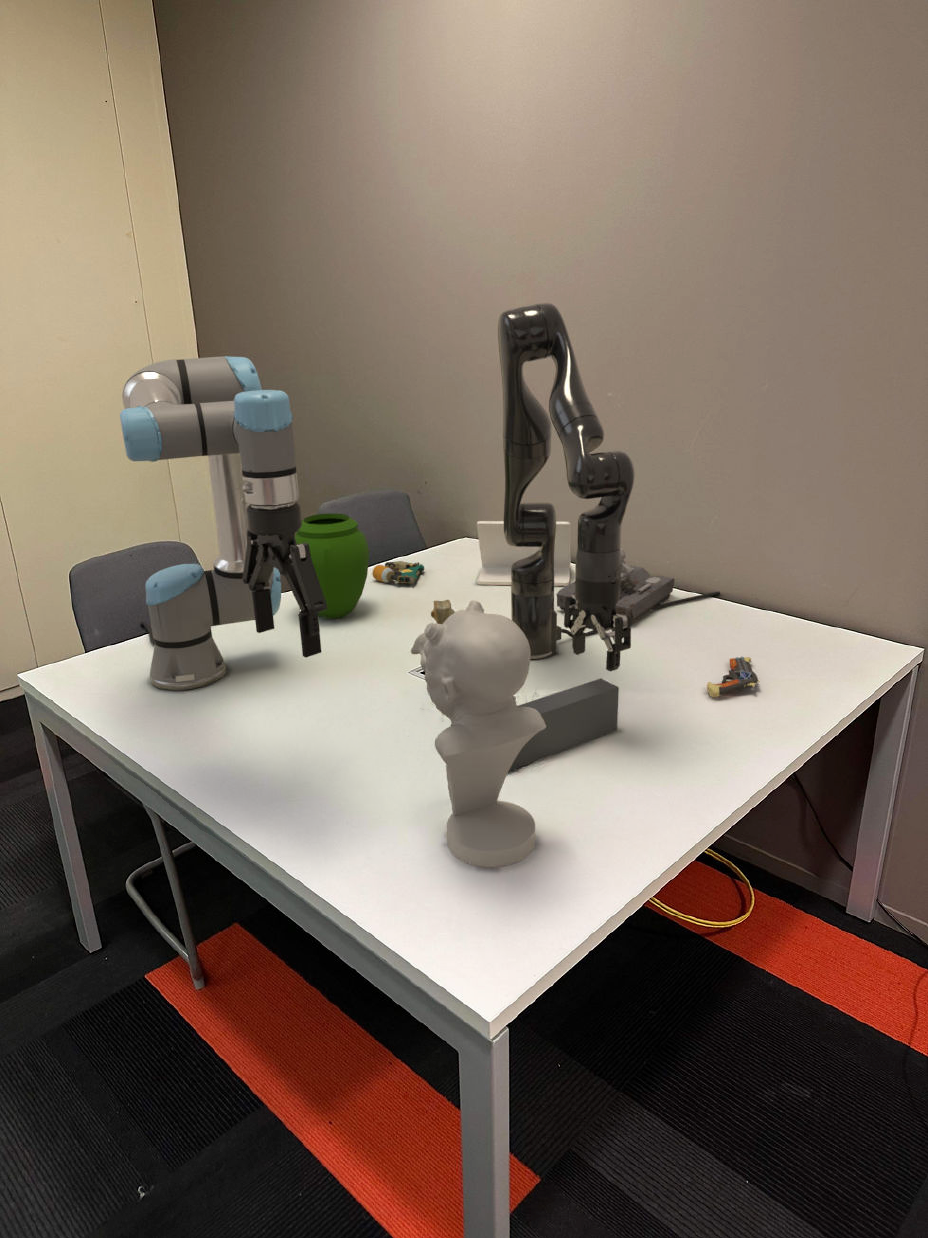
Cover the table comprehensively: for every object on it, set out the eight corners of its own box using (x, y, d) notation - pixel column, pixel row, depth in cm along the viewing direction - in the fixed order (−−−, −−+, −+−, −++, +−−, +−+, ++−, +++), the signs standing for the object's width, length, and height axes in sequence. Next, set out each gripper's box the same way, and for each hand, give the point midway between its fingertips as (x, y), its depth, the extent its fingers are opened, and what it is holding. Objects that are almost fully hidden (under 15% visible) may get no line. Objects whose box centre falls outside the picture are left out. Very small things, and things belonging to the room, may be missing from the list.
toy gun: (708, 687, 162) (763, 684, 160) (700, 655, 180) (750, 652, 178) (709, 701, 163) (764, 698, 161) (701, 667, 181) (750, 664, 179)
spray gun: (392, 568, 251) (438, 575, 245) (363, 581, 236) (410, 589, 230) (392, 554, 249) (438, 561, 243) (362, 567, 235) (411, 574, 229)
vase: (389, 608, 216) (383, 514, 208) (339, 633, 201) (330, 533, 192) (330, 596, 226) (322, 506, 218) (278, 619, 211) (267, 523, 202)
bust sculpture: (481, 772, 140) (476, 569, 128) (565, 848, 120) (569, 617, 108) (392, 800, 134) (378, 588, 121) (465, 886, 114) (457, 642, 101)
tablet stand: (569, 585, 229) (570, 524, 223) (476, 584, 232) (475, 523, 226) (570, 566, 246) (571, 508, 240) (484, 564, 249) (483, 507, 243)
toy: (603, 584, 229) (605, 530, 224) (673, 597, 218) (677, 540, 213) (555, 612, 210) (556, 553, 205) (630, 627, 199) (633, 566, 194)
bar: (599, 721, 157) (600, 678, 154) (617, 730, 153) (619, 687, 150) (490, 760, 144) (489, 714, 141) (506, 772, 141) (505, 725, 138)
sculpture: (458, 662, 183) (456, 596, 178) (460, 676, 176) (457, 608, 171) (431, 663, 183) (428, 597, 177) (431, 677, 176) (428, 609, 171)
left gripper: (208, 495, 128) (226, 627, 135) (295, 523, 110) (310, 673, 117) (253, 487, 132) (268, 615, 140) (344, 512, 115) (355, 658, 122)
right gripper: (553, 566, 145) (552, 653, 152) (610, 589, 134) (607, 681, 140) (586, 558, 149) (584, 643, 155) (645, 579, 138) (640, 669, 144)
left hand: (288, 642), depth 129 cm, fingers open, 13 cm apart
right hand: (595, 661), depth 148 cm, fingers open, 8 cm apart
